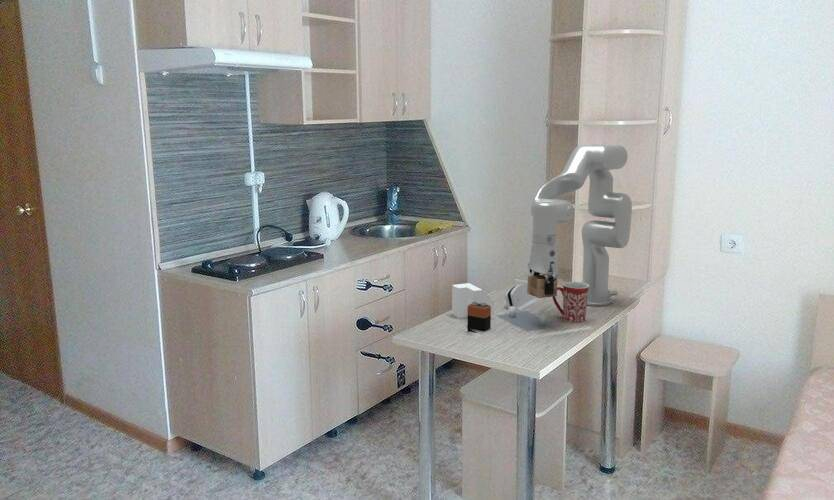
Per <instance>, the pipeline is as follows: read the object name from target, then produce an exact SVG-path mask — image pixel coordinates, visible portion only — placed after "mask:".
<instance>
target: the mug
mask: <svg viewBox="0 0 834 500" xmlns="http://www.w3.org/2000/svg"><path fill="white" fill-rule="evenodd" d="M588 288H589V285H588V284H586V283H583V282H581V281H580V282H578V281H567V282H563V283H562V287H560V286H557V291H560V292H561V295H562V303H563V309H562V307H561V306H560V304H559V303H558V301H557V298H556V296H554V297H552V300H553V303H554V305H555V306H556V308H557V310H558V311H559V312H560V314H561V315H562V317H563V321H566V322H570V323H583V322H585V321H586V314H587V306H588V305H587V297H588Z"/></svg>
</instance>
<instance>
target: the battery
mask: <svg viewBox="0 0 834 500" xmlns="http://www.w3.org/2000/svg"><path fill="white" fill-rule="evenodd" d="M491 321H492V319H491V306H490V305H487V303H480V304H479V303H477V302H472V304H470V305H468V317H467V324H466V325H467V328H466V329H467V332H469V333H474V334H478V332H476V331H479V332H486V331H489V330H491V327H492V326H491Z"/></svg>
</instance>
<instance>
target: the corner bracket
mask: <svg viewBox="0 0 834 500" xmlns="http://www.w3.org/2000/svg"><path fill="white" fill-rule="evenodd" d="M472 302H477V303H479V304H480V303H487V305H490V306H491V320H493V319H495V300H493V299H492V298H491V297H490V296H489V295H488V294H487V292H485V290H483V289H481V288H480V287H477V286H476V285H473V284H472V283H470V282H469V283H458V284H451V315H453V316H454V317H456V318H458V319H462V318H463V319H464V318H468V305H470V304H472Z"/></svg>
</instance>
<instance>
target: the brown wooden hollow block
mask: <svg viewBox="0 0 834 500" xmlns="http://www.w3.org/2000/svg"><path fill="white" fill-rule="evenodd" d="M548 277H549V278H550V277H551V276H548ZM545 283H546V279H545V275H543V274H540V275H534V276H531V275H528V276H527V284H528V285H527V294H530V295H532V296H534V298H536V299H537V298H538V299H545V298H551V297H552V298H553V297H554V296H555V297H557V296H558V290H557V287H558V278H557V279H556V280H555V283H554V293H553V294H550V295H545Z"/></svg>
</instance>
